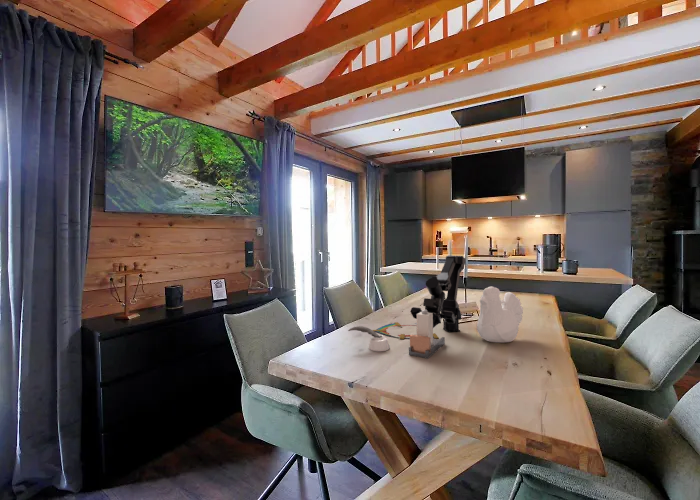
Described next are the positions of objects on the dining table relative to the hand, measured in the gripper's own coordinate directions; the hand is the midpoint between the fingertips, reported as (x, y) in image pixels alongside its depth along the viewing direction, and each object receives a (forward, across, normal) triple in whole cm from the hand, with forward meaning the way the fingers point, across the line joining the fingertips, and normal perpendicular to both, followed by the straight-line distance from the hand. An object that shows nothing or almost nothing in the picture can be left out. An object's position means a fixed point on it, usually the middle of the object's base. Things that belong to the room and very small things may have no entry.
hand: (427, 332), depth 138 cm
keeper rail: (+5, 0, +5) cm, 7 cm away
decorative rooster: (-15, +25, +25) cm, 38 cm away
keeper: (+6, 0, +2) cm, 6 cm away
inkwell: (+14, -22, -3) cm, 26 cm away
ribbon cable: (-8, -21, +19) cm, 30 cm away
